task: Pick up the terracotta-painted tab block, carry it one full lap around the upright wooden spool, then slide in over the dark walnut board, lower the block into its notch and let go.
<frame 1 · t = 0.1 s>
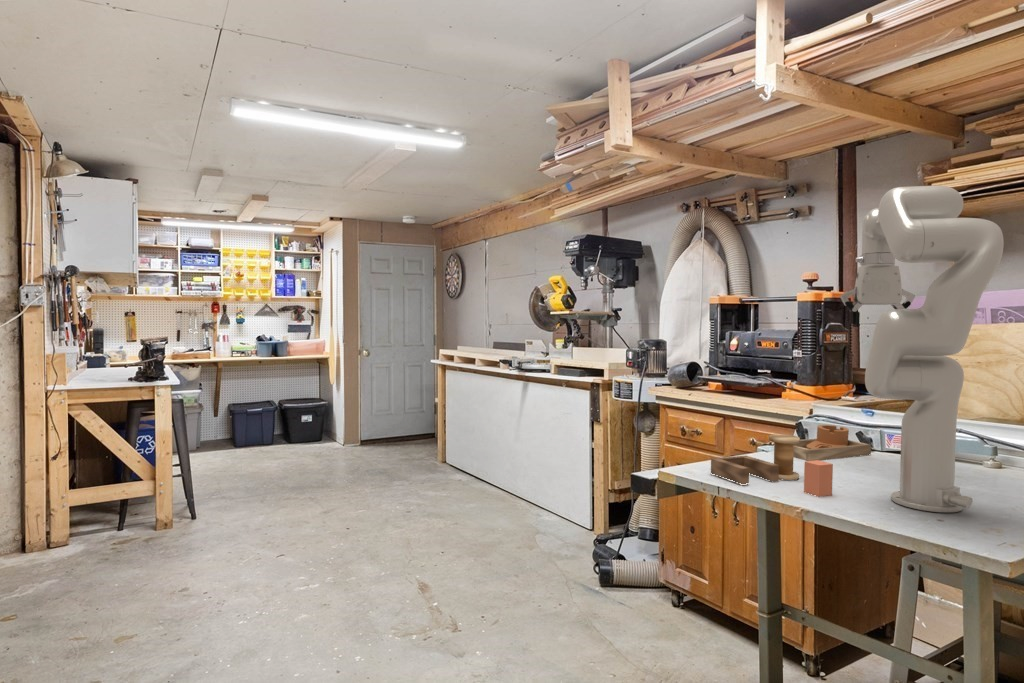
hand: (876, 327, 160), 37 cm above the table, tool pointing down, fingers open, 9 cm apart
spool: (783, 476, 151), on the table
notched board: (743, 478, 150), on the table
tab: (817, 493, 137), on the table
bracket: (826, 454, 180), on the table, touching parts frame
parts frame: (822, 453, 179), on the table
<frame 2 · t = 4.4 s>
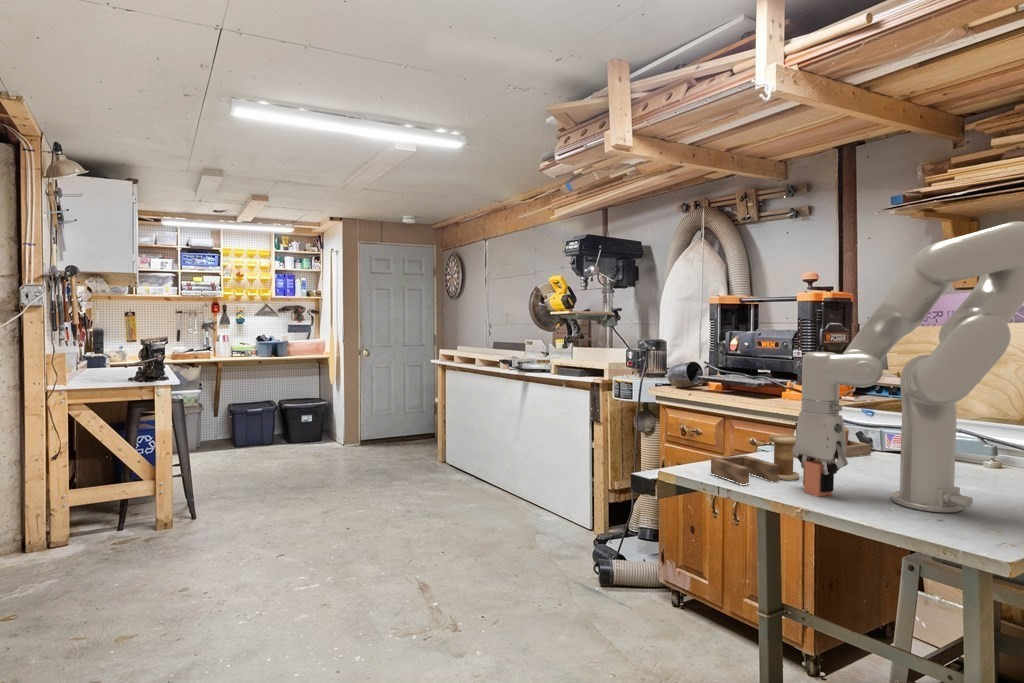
hand: (818, 487, 137), 1 cm above the table, tool pointing down, fingers closed on tab, 4 cm apart
tab: (817, 493, 137), on the table, touching gripper
everything else where it was.
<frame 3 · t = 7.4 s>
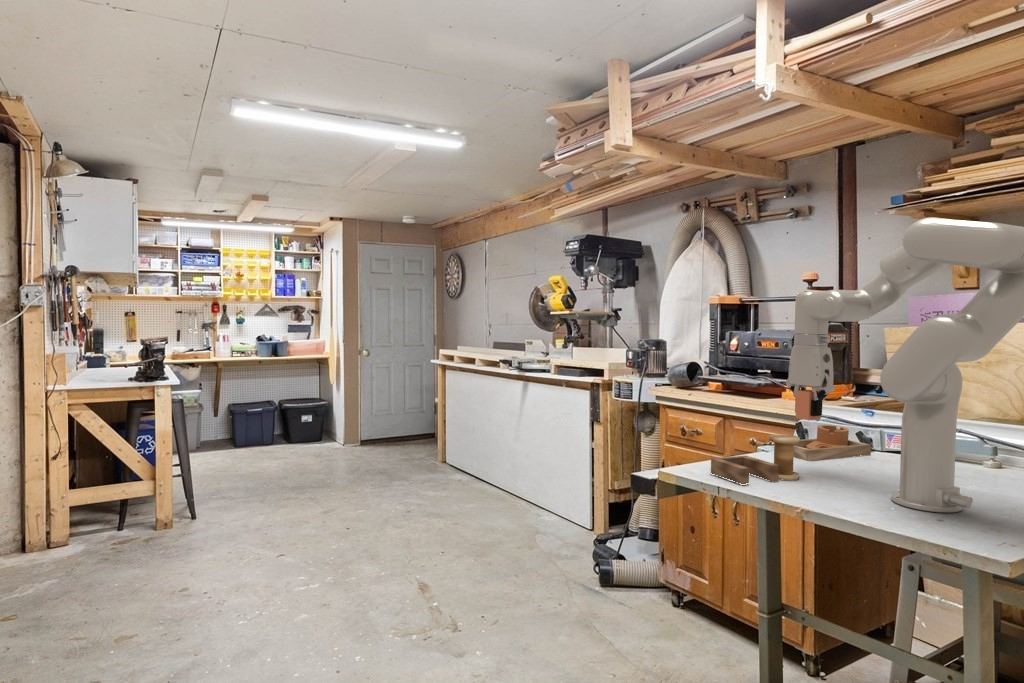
hand: (808, 413, 153), 15 cm above the table, tool pointing down, fingers closed on tab, 4 cm apart
tab: (807, 418, 153), point 14 cm above the table, touching gripper
everything else where it was.
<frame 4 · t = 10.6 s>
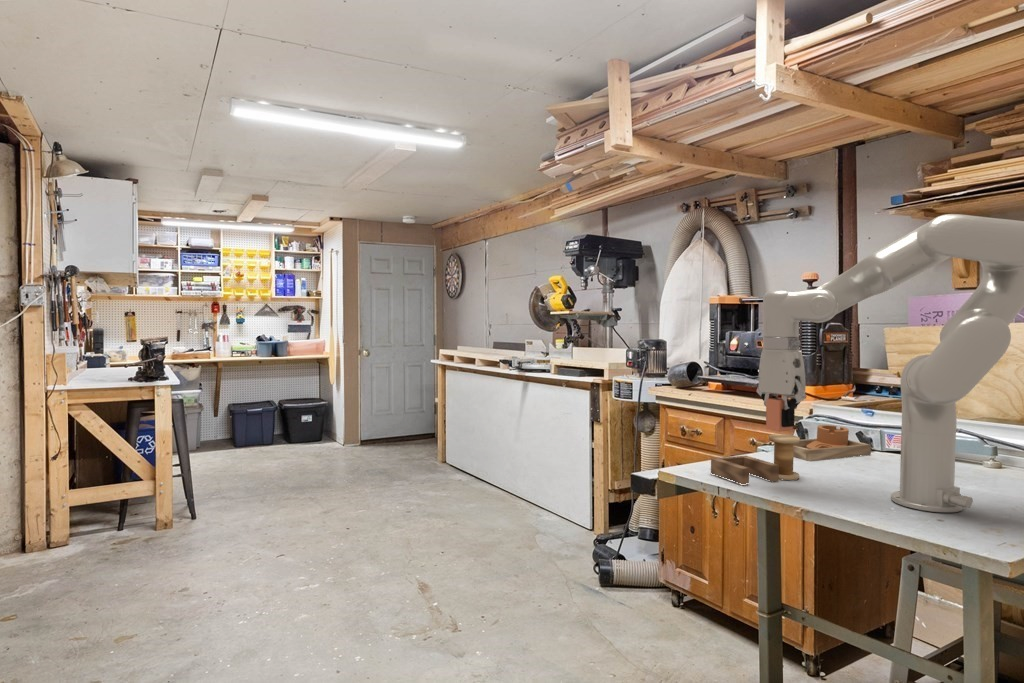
hand: (780, 424, 140), 15 cm above the table, tool pointing down, fingers closed on tab, 4 cm apart
tab: (779, 429, 140), point 14 cm above the table, touching gripper
everything else where it was.
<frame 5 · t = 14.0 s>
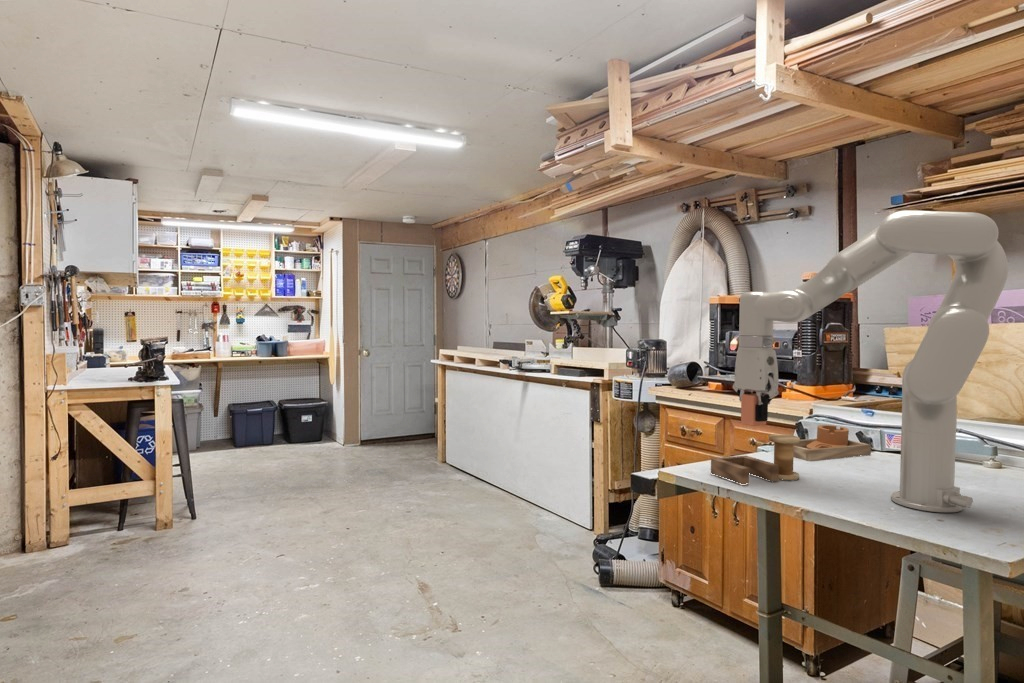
hand: (754, 418, 147), 15 cm above the table, tool pointing down, fingers closed on tab, 4 cm apart
tab: (753, 423, 147), point 14 cm above the table, touching gripper
everything else where it was.
when the fingers open (3 cm above the table, at t = 17.0 s): tab drops 2 cm, on the table.
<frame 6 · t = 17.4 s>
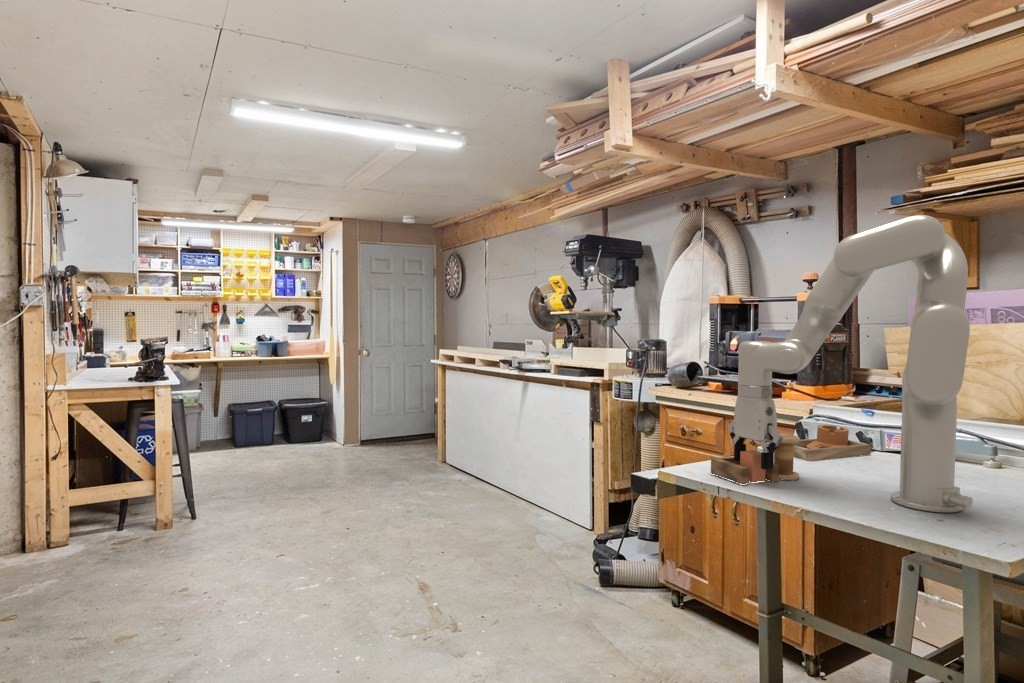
hand: (753, 464, 147), 4 cm above the table, tool pointing down, fingers open, 8 cm apart
tab: (752, 481, 147), on the table
everything else where it was.
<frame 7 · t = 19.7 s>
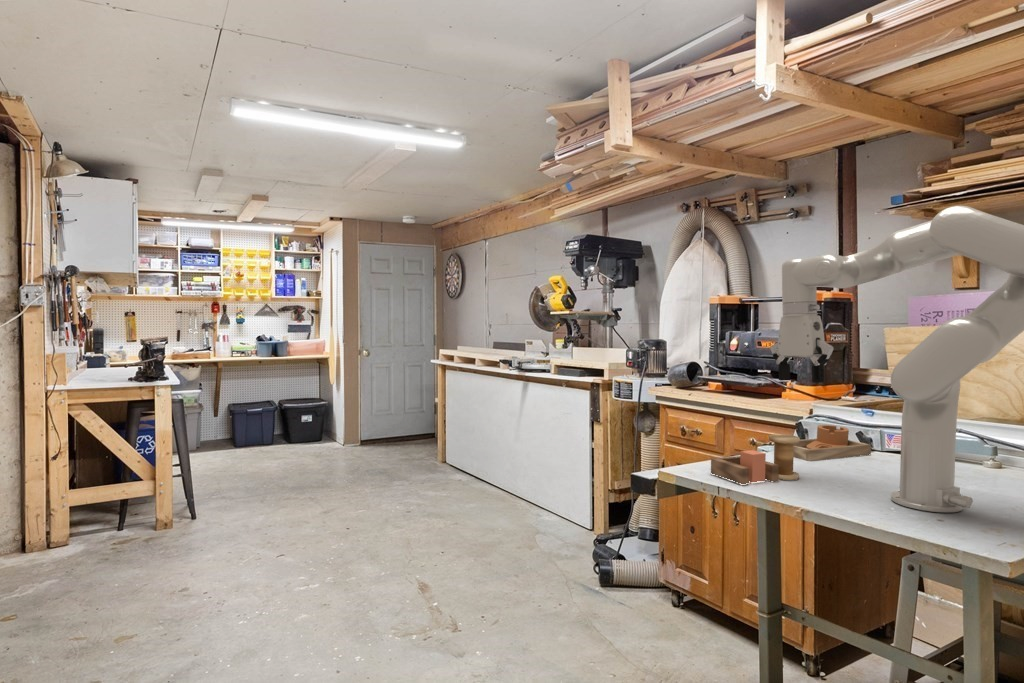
hand: (800, 381, 148), 24 cm above the table, tool pointing down, fingers open, 9 cm apart
nothing on the table moved.
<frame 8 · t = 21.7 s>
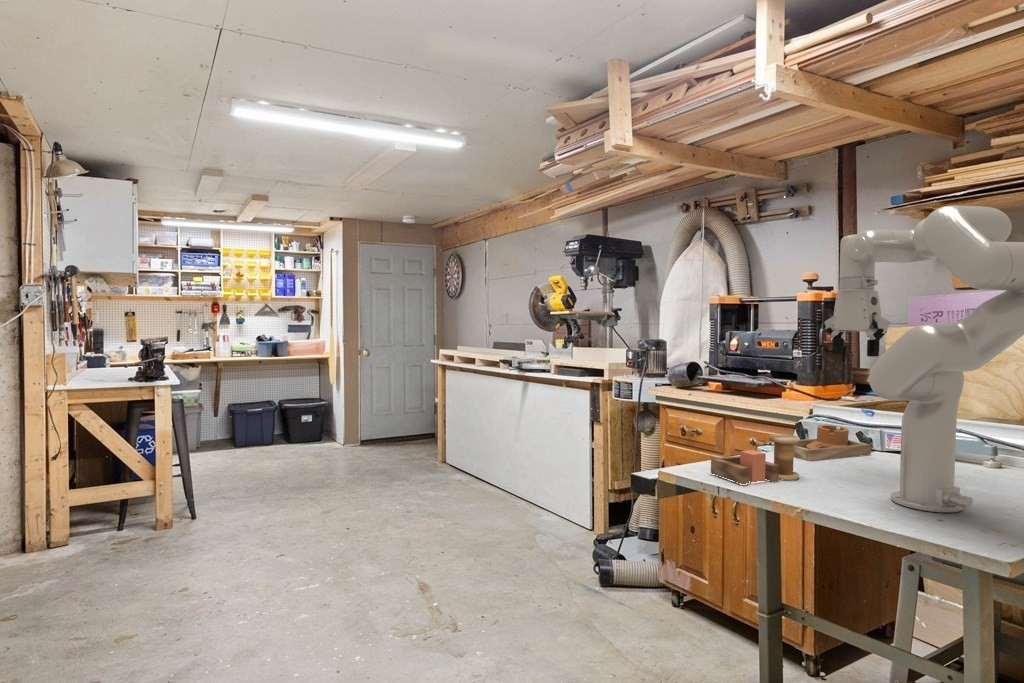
hand: (854, 355, 151), 30 cm above the table, tool pointing down, fingers open, 9 cm apart
nothing on the table moved.
at the end: tab inside the target area (1.9 cm from its centre), on the table; tab tilted 0°; the gripper is holding nothing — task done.
